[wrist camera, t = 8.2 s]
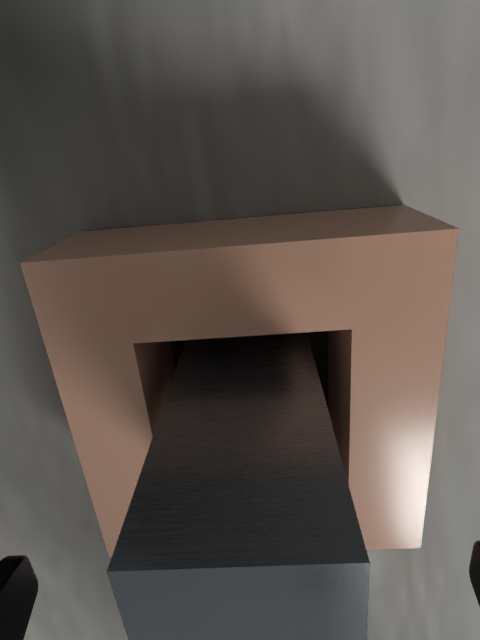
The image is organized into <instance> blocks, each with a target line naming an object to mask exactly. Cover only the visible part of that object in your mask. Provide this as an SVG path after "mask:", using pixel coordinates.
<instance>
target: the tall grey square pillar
mask: <svg viewBox="0 0 480 640" xmlns="http://www.w3.org/2000/svg"><path fill="white" fill-rule="evenodd" d="M369 567H370V562H369V558H368V555H367V551H366V547H365V544H364V540H363V536H362V533H361V529H360V525H359V522H358V518H357V514H356V511H355V507H354V503H353V500H352V496H351V492H350V489H349V485H348V481H347V477H346V474H345V470H344V466H343V463H342V459H341V455H340V452H339V448H338V444H337V441H336V437H335V433H334V430H333V426H332V422H331V419H330V415H329V411H328V408H327V404H326V400H325V397H324V393H323V389H322V386H321V382H320V378H319V375H318V371H317V367H316V364H315V360H314V356H313V353H312V349H311V345H310V342H309V338H308V334H307V332H303V333H288V334H272V335H257V336H241V337H226V338H210V339H195V340H186V341H185V344H184V347H183V350H182V353H181V356H180V359H179V362H178V364H177V367H176V370H175V373H174V376H173V379H172V382H171V385H170V388H169V391H168V394H167V397H166V400H165V403H164V405H163V408H162V411H161V414H160V417H159V420H158V423H157V426H156V429H155V432H154V435H153V438H152V441H151V444H150V446H149V449H148V452H147V455H146V458H145V461H144V464H143V467H142V470H141V473H140V476H139V479H138V482H137V485H136V488H135V490H134V493H133V496H132V499H131V502H130V505H129V508H128V511H127V514H126V517H125V520H124V523H123V526H122V529H121V531H120V534H119V537H118V540H117V543H116V546H115V549H114V552H113V555H112V558H111V561H110V564H109V567H108V570H107V574H108V577H109V580H110V583H111V586H112V589H113V593H114V596H115V599H116V602H117V605H118V608H119V611H120V614H121V617H122V620H123V624H124V627H125V630H126V633H127V636H128V639H129V640H366V639H367V615H368V591H369Z"/></svg>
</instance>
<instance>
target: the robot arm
mask: <svg viewBox="0 0 480 640" xmlns="http://www.w3.org/2000/svg"><path fill="white" fill-rule="evenodd" d="M469 575H470V580H471V583H472V586H473V589H474V592H475V594H476V597H477V600H478V603H479V606H480V541H476V542H475V543H474V546H473V551H472V556H471V561H470V567H469ZM37 592H38V580H37V578H36V575H35V573H34V570H33V568H32V566H31V563H30V561H29V559H28V557H26V556H24V555H20V556H7V557H5V558H3V559H2V560H1V561H0V640H23V639H24V635H25V632H26V629H27V626H28V622H29V619H30V616H31V612H32V609H33V606H34V603H35V599H36V596H37Z"/></svg>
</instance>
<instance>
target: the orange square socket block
mask: <svg viewBox="0 0 480 640" xmlns="http://www.w3.org/2000/svg"><path fill="white" fill-rule="evenodd" d="M458 232H459V228H457V227H454V226H452V225H450V224H447V223H445V222H443V221H440V220H438V219H436V218H434V217H431V216H429V215H427V214H424V213H422V212H420V211H417V210H415V209H413V208H411V207H408V206H406V205H395V206H383V207H371V208H358V209H346V210H334V211H322V212H310V213H298V214H286V215H274V216H261V217H249V218H237V219H225V220H213V221H201V222H189V223H177V224H165V225H152V226H140V227H128V228H116V229H104V230H92V231H80V232H78V233H76V234H74V235H72V236H70V237H68V238H66V239H64V240H62V241H61V242H59V243H57V244H55V245H53V246H51V247H49V248H47V249H45V250H43V251H42V252H40V253H38V254H36V255H34V256H32V257H30V258H28V259H26V260H25V261H23V262H21V263H20V265H21V268H22V272H23V275H24V278H25V282H26V285H27V288H28V292H29V295H30V298H31V301H32V305H33V308H34V311H35V315H36V318H37V321H38V325H39V328H40V331H41V334H42V338H43V341H44V344H45V348H46V351H47V354H48V358H49V361H50V364H51V367H52V371H53V374H54V377H55V381H56V384H57V387H58V391H59V394H60V397H61V400H62V404H63V407H64V410H65V414H66V417H67V420H68V424H69V427H70V430H71V433H72V437H73V440H74V443H75V447H76V450H77V453H78V457H79V460H80V463H81V466H82V470H83V473H84V476H85V480H86V483H87V486H88V490H89V493H90V496H91V499H92V503H93V506H94V509H95V513H96V516H97V519H98V523H99V526H100V529H101V532H102V536H103V539H104V542H105V546H106V549H107V552H108V556H109V558H112V555H113V552H114V549H115V546H116V543H117V540H118V537H119V534H120V531H121V529H122V526H123V523H124V520H125V517H126V514H127V511H128V508H129V505H130V502H131V499H132V496H133V493H134V490H135V488H136V485H137V482H138V479H139V476H140V473H141V470H142V467H143V464H144V461H145V458H146V455H147V452H148V449H149V446H150V444H151V441H152V438H153V435H154V432H155V429H156V426H157V423H158V420H159V417H160V414H161V411H162V408H163V405H164V403H165V400H166V397H167V394H168V391H169V388H170V385H171V382H172V379H173V376H174V373H175V367H174V361H173V355H172V349H171V344H170V341H179V340H195V339H210V338H226V337H241V336H257V335H272V334H288V333H303V332H318V331H328V411H329V415H330V419H331V422H332V426H333V430H334V433H335V437H336V441H337V444H338V448H339V452H340V455H341V459H342V463H343V466H344V470H345V474H346V477H347V481H348V485H349V489H350V492H351V496H352V500H353V503H354V507H355V511H356V514H357V518H358V522H359V525H360V529H361V533H362V536H363V540H364V544H365V547H366V550H375V549H406V548H421V541H422V533H423V524H424V516H425V508H426V499H427V491H428V483H429V474H430V466H431V458H432V449H433V441H434V433H435V424H436V416H437V408H438V399H439V391H440V382H441V374H442V366H443V357H444V349H445V341H446V332H447V324H448V316H449V307H450V299H451V291H452V282H453V274H454V266H455V257H456V249H457V241H458Z"/></svg>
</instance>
